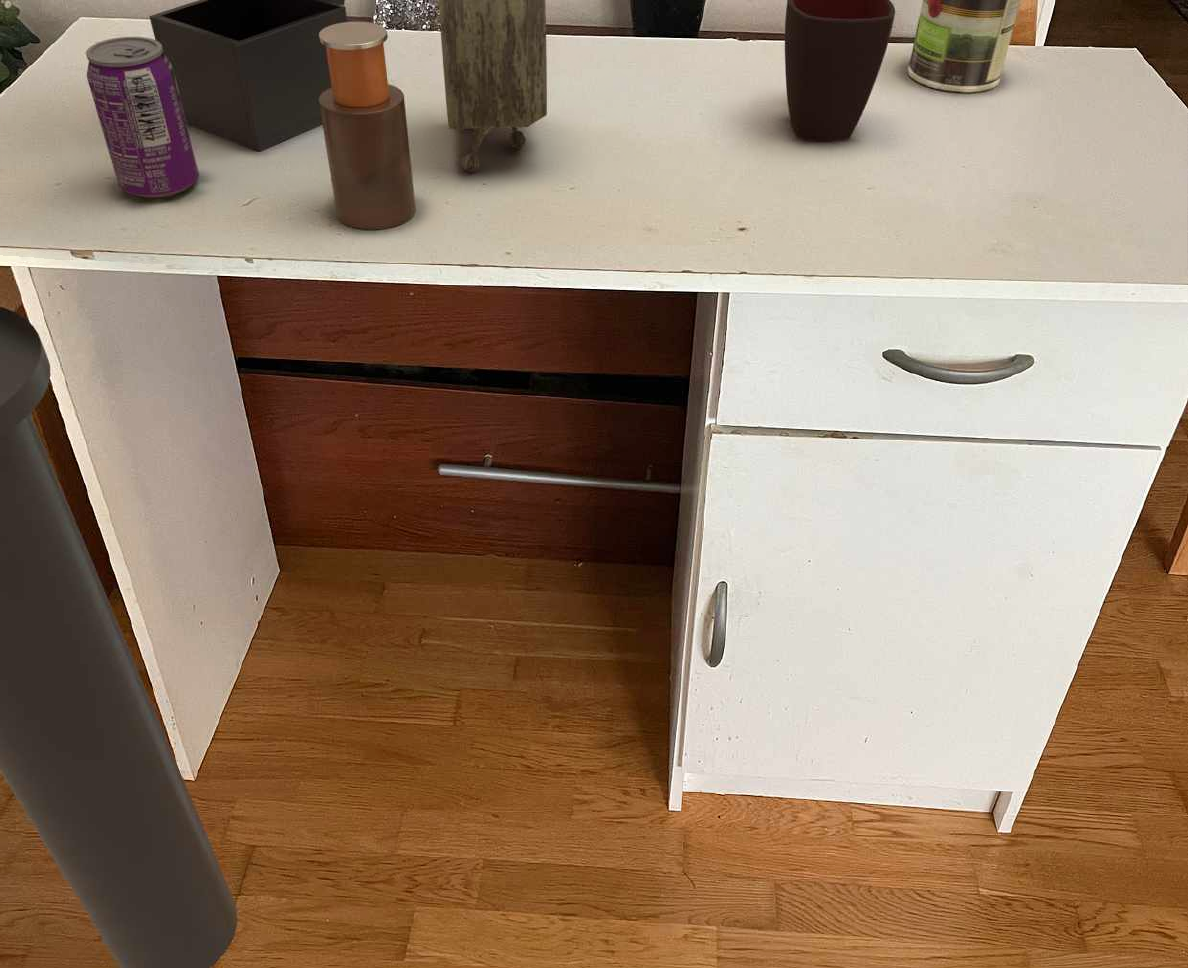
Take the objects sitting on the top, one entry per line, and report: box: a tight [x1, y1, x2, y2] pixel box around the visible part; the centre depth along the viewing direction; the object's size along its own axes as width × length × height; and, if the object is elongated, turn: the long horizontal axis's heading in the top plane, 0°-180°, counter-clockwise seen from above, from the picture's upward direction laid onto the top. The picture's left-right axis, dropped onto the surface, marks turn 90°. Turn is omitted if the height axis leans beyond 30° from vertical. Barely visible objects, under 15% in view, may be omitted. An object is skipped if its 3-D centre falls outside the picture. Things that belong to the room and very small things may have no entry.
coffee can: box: [907, 0, 1022, 94], centre depth 120 cm, size 10×10×14 cm
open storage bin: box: [149, 0, 348, 152], centre depth 111 cm, size 14×13×10 cm
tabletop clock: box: [437, 0, 548, 173], centre depth 101 cm, size 14×9×25 cm, turn 6°
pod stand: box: [319, 83, 417, 231], centre depth 96 cm, size 7×7×10 cm
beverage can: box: [85, 36, 200, 199], centre depth 98 cm, size 7×7×12 cm
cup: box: [784, 0, 896, 142], centre depth 111 cm, size 10×14×12 cm
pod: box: [319, 21, 389, 108], centre depth 91 cm, size 5×5×5 cm
